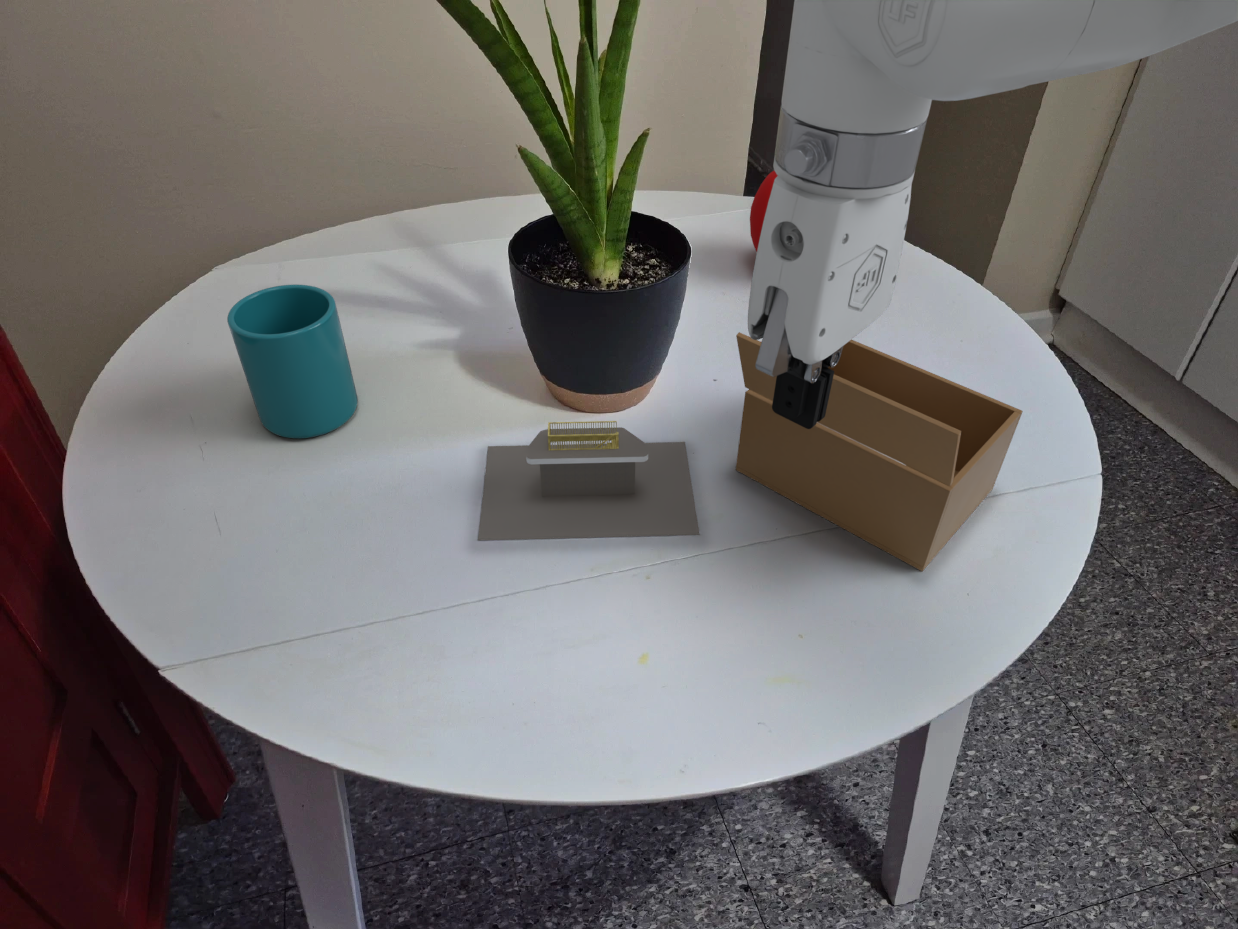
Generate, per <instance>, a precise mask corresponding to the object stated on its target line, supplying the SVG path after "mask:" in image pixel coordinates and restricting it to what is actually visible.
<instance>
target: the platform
mask: <svg viewBox="0 0 1238 929" xmlns="http://www.w3.org/2000/svg"><path fill="white" fill-rule="evenodd" d="M613 423H615V427H613ZM563 424H565V426H563ZM579 424H581V427H579ZM588 424H590V427H588ZM597 424H599V427H595V425H597ZM604 424H606V427H604ZM617 424H618V422H617V420H596V421H595V420H594V421H592V420H591V421H589V420H588V421H554V422H552V421H548V423H547V429H543V430H540V431H539V432H538V433H537V434H536V436H535V437H534V438H533V440H532V441H531V442H530V443H529V444H528V445H488V446H487V454H486V464H485V473H484V481H483V482H484V483H483V490H482V498H481V500H482V501H481V507H480V508H481V509H480V516H479V517H480V518H479V526H478V535H477V541H509V540H511V541H513V540H547V539H548V540H550V539H552V540H553V539H583V538H585V539H587V538H589V539H591V538H624V537H625V538H627V537H628V538H629V537H631V538H632V537H661V536H662V537H665V536H666V537H667V536H668V537H669V536H697V535H698V536H700V534H701V533H700V527H699V522H698V515H697V509H696V502H695V497H694V496H695V495H694V489H693V483H692V477H691V471H690V465H689V458H688V452H687V446H686V441H667V442H665V441H664V442H645V441H643V440H642V439H640V438H639V437H637V436H636V435H635V434H633V433H632V432H630V431H629V430H628V429H626V428H624V427H622V426H621V427H617V426H618V425H617ZM554 425H556V428H554ZM570 425H572V427H570ZM585 442H586V443H585ZM593 442H594V443H593Z"/></svg>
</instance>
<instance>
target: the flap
mask: <svg viewBox="0 0 1238 929" xmlns="http://www.w3.org/2000/svg"><path fill="white" fill-rule="evenodd" d="M735 338H736V342H737V347H738V354H739V360H740V366H741V372H742V378H743V384H744V388H745V389H747V390H749V389H750V390H752V391H754V392H756V393H758V394H760V395H762V396H764V397H766V398H768V399H771V400H773V397H774V390H775V384H776V378H777V376H775V377H772V376H770V375H768V374H766V373H764V372H762V371H759V370H757V369H756V367H755V365H756V361H757V357H758V353H759V350H760V346H761V342H762V341H760V340H753V339H751V337H750V335H746V334H744V333H742V332H740V331H739V332H737V334H736V336H735ZM818 423H820V424H822V425H824V426H826V427H829V428H831V429H833V430H835V431H837V432H839V433H841V434H843V435H845V436H847V437H849V438H851V439H853V440H856V441H858V442H860V443H862V444H864V445H866V446H868V447H870V448H872V449H874V450H876V451H878V452H880V453H882V454H885V455H887V456H889V457H891V458H893V459H895V460H897V461H899V462H901V463H903V464H905V465H907V466H909V467H911V468H914V469H916V470H918V471H920V472H922V473H924V474H926V475H928V476H930V477H932V478H934V479H936V480H938V481H941V482H943V483H945V484H947V485H949V486H951V484H952V483H953V478H954V472H955V466H956V460H957V454H958V448H959V442H960V436H961V431H960V430H958V429H956V428H953V427H951V426H949V425H947V424H944V423H942V422H940V421H938V420H935V419H933V418H931V417H929V416H926V415H924V414H922V413H920V412H917V411H915V410H913V409H911V408H908V407H906V406H904V405H902V404H899V403H897V402H895V401H893V400H890V399H888V398H886V397H884V396H881V395H879V394H877V393H875V392H872V391H870V390H868V389H866V388H863V387H861V386H859V385H857V384H854V383H852V382H850V381H848V380H845V379H843V378H841V377H839V376H836V375H834V376H833V381H832V385H831V390H830V395H829V400H828V405H827V409H826V414H825V417H824V418H823V419H822V420H821V421H819V422H818Z"/></svg>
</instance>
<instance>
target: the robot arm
mask: <svg viewBox="0 0 1238 929" xmlns="http://www.w3.org/2000/svg"><path fill="white" fill-rule="evenodd" d="M1236 22H1238V0H794V1H793V9H792V18H791V25H790V33H789V41H788V47H787V48H788V49H787V56H786V62H785V70H784V71H785V72H784V78H783V79H784V80H783V85H782V86H783V87H782V94H781V104H780V109H779V117H778V126H777V134H776V139H775V140H776V141H775V150H774V156H773V157H774V158H773V165H772V166H773V171H775V172H776V174H777V175H778V176H777V177H776V178H775V180H774V184H773V187H772V191H771V195H770V198H769V201H768V205H767V209H766V213H765V217H764V222H763V226H762V231H761V235H760V240H759V244H758V249H757V252H756V255H755V260H754V266H753V271H752V277H751V284H750V292H749V299H748V308H747V331H748V336H749V337H751V339H753V340H758V341H760V340H761V341H760V342H761V346H760V350H759V353H758V357H757V361H756V365H755V367H756V369H757V370H759V371H762V372H764V373H766V374H768V375H770V376H772V377H775V376H777V378H776V384H775V390H774V397H773V403H772V410H773V411H774V412H775V413H776V414H778V415H780V416H782V417H784V418H786V419H788V420H790V421H792V422H794V423H796V424H798V425H800V426H802V427H804V428H806V429H811V428H812V427H813V426H815V425H816V423H817V422H819V421H821V420H822V419H823V418H824V417H825V414H826V409H827V405H828V400H829V395H830V390H831V385H832V381H833V376H834V371H833V370H831V369H829V368H828V367H832V368H833V367H835V366H836V365H837V363H838V362H839V360H840V357H841V353H842V350H843V346H844V345H845V344H846V343H847V342H849V341H850V340H851V339H852V340H854V338H856V337H857V336H858V335H859V334H861V333H862V332H863V331H865V330H866V329H867V328H869V326H871V325H872V324H873V323H874V322H876V321H877V320H878V319H879V318H880V317H881V316H882V315H884V313H885V312H886V311H887V310H888V308H889V307H890V305H891V303H892V300H893V296H894V293H895V292H894V291H895V288H896V282H897V279H898V273H899V269H900V263H901V258H902V254H903V248H904V247H903V246H904V243H905V236H906V231H907V226H908V219H909V214H910V205H911V199H912V198H911V197H912V195H911V194H912V187H913V186H912V184H913V181H914V176H915V172H916V169H917V168H916V167H917V164H918V159H919V155H920V151H921V147H922V142H923V139H924V133H925V130H926V126H927V121H928V117H929V114H930V110H931V106H932V102H933V101H939V102H954V101H955V102H957V101H965V100H972V99H976V98H981V97H986V96H990V95H994V94H999V93H1004V92H1009V91H1014V90H1018V89H1024V88H1025V87H1028V86H1033V85H1037V84H1042V83H1046V82H1051V81H1056V80H1061V79H1066V78H1071V77H1075V76H1077V77H1078V76H1082V75H1088V74H1092V73H1097V72H1102V71H1106V70H1110V69H1114V68H1118V67H1121V66H1124V65H1127V64H1130V63H1133V62H1136V61H1140V60H1142V59H1145V58H1147V57H1150V56H1153V55H1155V54H1158V53H1161V52H1163V51H1166V50H1169V49H1172V48H1173V47H1177V46H1179V45H1182V44H1184V43H1187V42H1189V41H1192V40H1194V39H1196V38H1199V37H1202V36H1205V35H1207V34H1209V33H1212V32H1214V31H1217V30H1219V29H1221V28H1224V27H1227V26H1229V25H1231V24H1234V23H1236Z"/></svg>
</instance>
